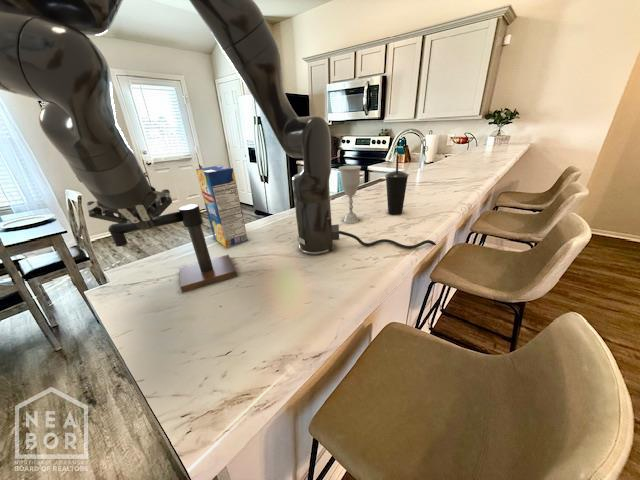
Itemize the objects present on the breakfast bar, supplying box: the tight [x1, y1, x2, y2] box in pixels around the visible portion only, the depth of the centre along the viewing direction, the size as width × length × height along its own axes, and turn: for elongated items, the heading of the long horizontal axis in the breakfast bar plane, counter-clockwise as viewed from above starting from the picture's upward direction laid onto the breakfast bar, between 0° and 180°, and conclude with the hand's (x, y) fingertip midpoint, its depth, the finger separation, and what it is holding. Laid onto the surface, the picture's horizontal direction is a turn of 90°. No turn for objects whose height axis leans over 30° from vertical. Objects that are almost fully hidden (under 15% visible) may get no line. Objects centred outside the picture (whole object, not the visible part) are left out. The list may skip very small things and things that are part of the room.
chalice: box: [338, 165, 362, 224], centre depth 87 cm, size 7×7×18 cm
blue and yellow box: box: [195, 165, 249, 248], centre depth 79 cm, size 7×11×22 cm, turn 40°
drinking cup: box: [384, 154, 410, 216], centre depth 90 cm, size 8×8×20 cm
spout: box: [107, 204, 204, 248], centre depth 56 cm, size 17×4×5 cm, turn 118°
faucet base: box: [179, 224, 238, 293], centre depth 62 cm, size 12×10×13 cm
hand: (146, 225), depth 54 cm, fingers closed
